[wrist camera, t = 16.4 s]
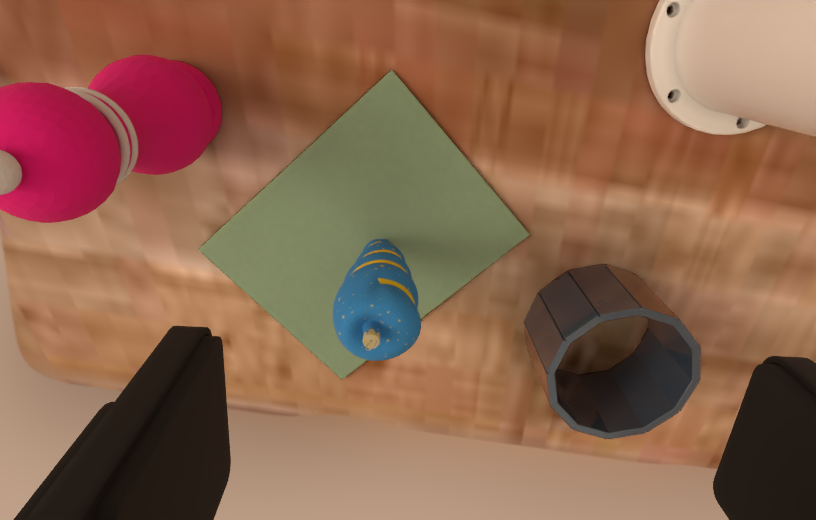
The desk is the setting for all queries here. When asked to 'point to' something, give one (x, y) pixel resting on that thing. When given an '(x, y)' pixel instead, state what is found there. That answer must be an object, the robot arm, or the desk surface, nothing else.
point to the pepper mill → (100, 134)
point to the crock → (627, 381)
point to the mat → (364, 218)
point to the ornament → (377, 304)
